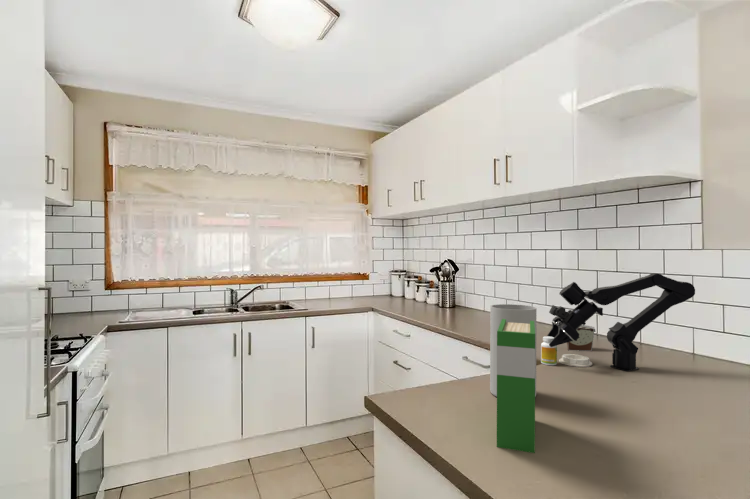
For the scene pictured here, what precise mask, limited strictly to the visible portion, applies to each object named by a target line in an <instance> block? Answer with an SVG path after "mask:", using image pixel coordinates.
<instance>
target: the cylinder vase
mask: <svg viewBox="0 0 750 499" xmlns="http://www.w3.org/2000/svg"><path fill="white" fill-rule="evenodd" d="M489 311H490V312H489V314H490V316H489V318H490V319H489V321H490V325H489V326H490V327H489V330H490V331H489V332H490V333H489V338H490V339H489V340H490V341H489V342H490V343H489V344H490V345H489V346H490V347H489V348H490V349H489V352H490V353H489V362H490V363H489V365H490V366H489V372H490V373H489V391H490V393H491V394H492V396H495V397H496V398H497V330H498V328H499V325H500V323H501V321H502V319H506V322H510V323H527V324H530V321H534V325H535V398H536V396H537V307H536V306H531V305H524V304H508V303H507V304H504V303H502V304H491V305H490V310H489Z"/></svg>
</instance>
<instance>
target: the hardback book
mask: <svg viewBox="0 0 750 499" xmlns="http://www.w3.org/2000/svg"><path fill="white" fill-rule="evenodd" d="M496 447H497V448H499V449H500V448H501V449H506V450H507V449H508V450H512V451H517V452H518V451H520V452H525V453H530V454H532V453H533V454H536V397H535V325H534V321H530V324H527V323H510V322H506V319H502V321H501V323H500V325H499V328H498V330H497V397H496Z"/></svg>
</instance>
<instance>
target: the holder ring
mask: <svg viewBox="0 0 750 499" xmlns="http://www.w3.org/2000/svg"><path fill="white" fill-rule="evenodd" d="M558 362H559V363H560V364H562V365H565V366H570V367H577V368H589V367H593V362H592V361H590V358H589V357H588V356H587V355H582V354H577V353H576V354H573V353H572V354H571V353H565V354H562V355H561V357H560V358H559V359H558Z"/></svg>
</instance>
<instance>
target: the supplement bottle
mask: <svg viewBox="0 0 750 499" xmlns="http://www.w3.org/2000/svg"><path fill="white" fill-rule="evenodd" d="M553 339H554V337H550V336H547V335H546V336H543V337H542V341H543V342H541V344H540V363H541V364H542V365H545V366H556V365H557V363H558V345H557V346H553V347H550V346H549V344H550V342H551V341H552V340H553Z"/></svg>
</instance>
